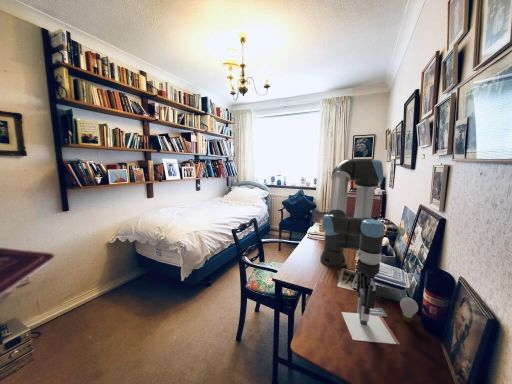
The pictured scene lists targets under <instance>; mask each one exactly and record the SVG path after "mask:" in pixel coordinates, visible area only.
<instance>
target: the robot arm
mask: <svg viewBox="0 0 512 384" xmlns="http://www.w3.org/2000/svg"><path fill="white" fill-rule="evenodd" d="M330 179H331V181H332V182H331V183H332V184H331V193H330V199H329V200H330V201H329V207H328V213H327V214H323V216H322V221H321V222H322V223H321V224H322V226H321V229H322V230H323V231H324V243H323V246H324V247H323V250H322V252H321V255H320V256H319V257H320V262H321V263H322V264H323V265H325V266H328V267H330V268H331V267H332V268H344V267H345V266H346V264H347V263H346V262H347V260H346V255H345V251H344V250H345V249H347V250H354V251H357V258H358V259H357V264H356V267H357V269H356V271H357V272H356V273H357V274H356V275H357V277H356V293H357V296H358V299H357V309H356V313H358V314H359V311H360V289H361V288H364V304H362V311H361V320H363V321H369V314H370V308H375V304H376V299H377V298H376V297H377V294H378V293H377V292H378V290H379V286H378V285H376V284H375V281H376V280H375V279H376V278H375V276H376V275H379V273H380V268H381V260H382V251H383V250H382V249H383V243H384V242H383V241H384V235H385V224H384V222H382V221H380V220H378V219H374V218H372V212H373V203H374V197H375V189H376V188H377V187H379V183H383V180H384V167H383V163H382V161H381V160H379V159H372V158H370V159H369V158H367V159H366V158H365V159H363V158H362V159H360V158H358V159H357V158H349V159H345V160H343V161H341V162H340V163H338V164H337V165H336V166H335V167H334V168H333V171H332V172H331V176H330ZM350 181H354V185H355V187H356V195H355V203H354V204H355V205H354V212H353V213H354V214H353V217H352V216H347V207H348V206H347V205H348V192H349V191H348V190H349V189H348V187H349V183H350Z"/></svg>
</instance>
